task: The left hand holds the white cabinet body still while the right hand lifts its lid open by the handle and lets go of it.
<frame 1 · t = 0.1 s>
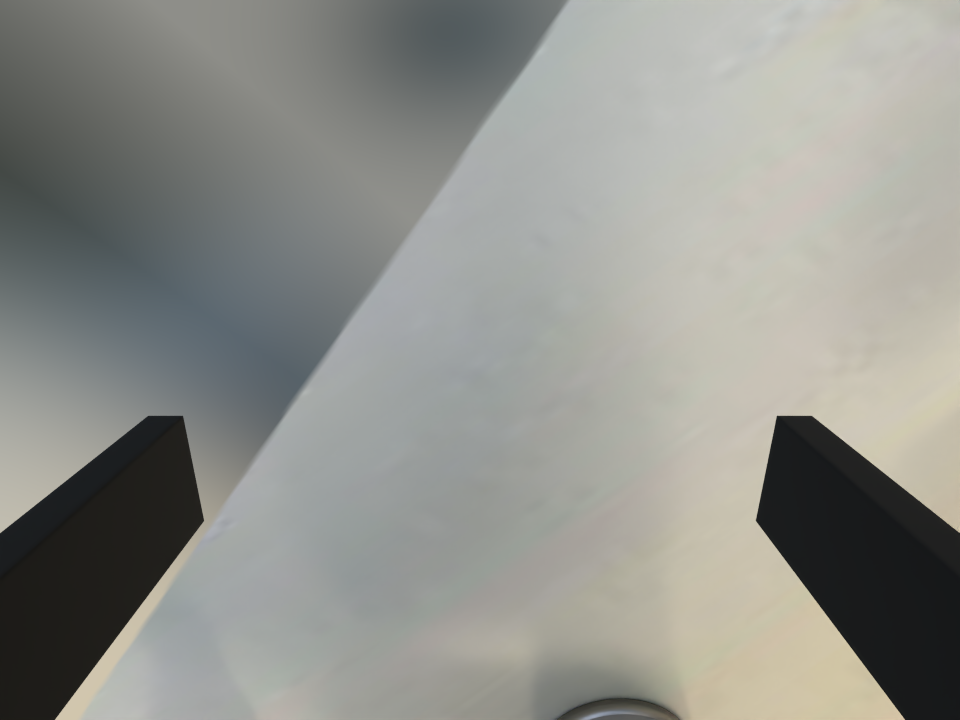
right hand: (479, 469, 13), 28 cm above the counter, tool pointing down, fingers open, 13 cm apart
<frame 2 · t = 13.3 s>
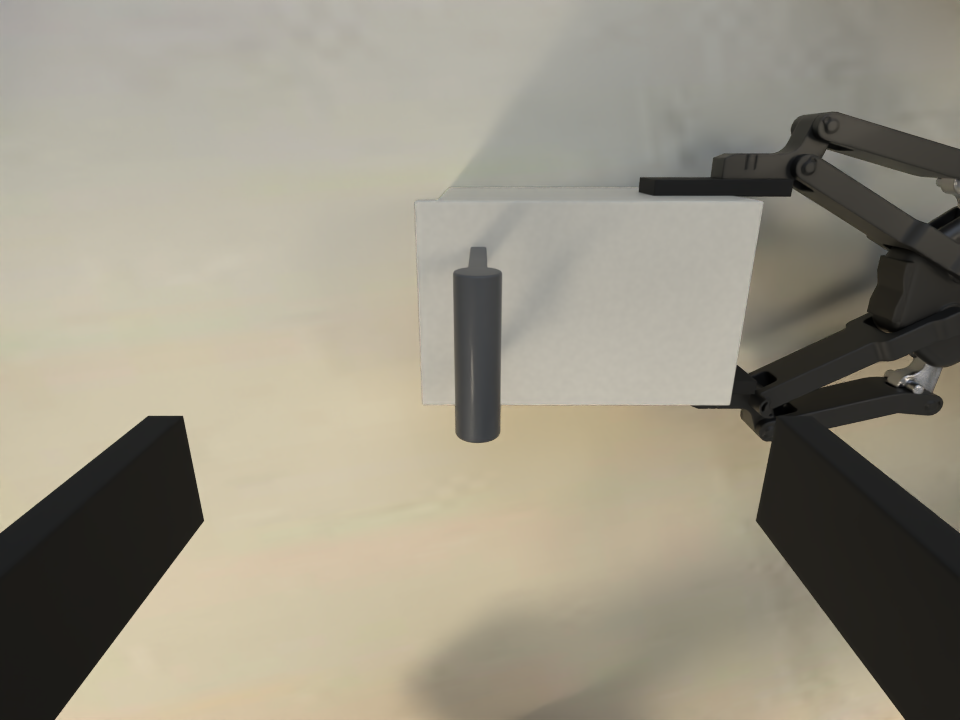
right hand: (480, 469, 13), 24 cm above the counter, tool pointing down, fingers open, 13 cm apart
left hand: (636, 288, 30), fingers closed on white cabinet body, 9 cm apart
lid: (595, 330, 23), point 14 cm above the counter, hinge at 0.0°
white cabinet body: (561, 266, 35), on the counter, touching left hand
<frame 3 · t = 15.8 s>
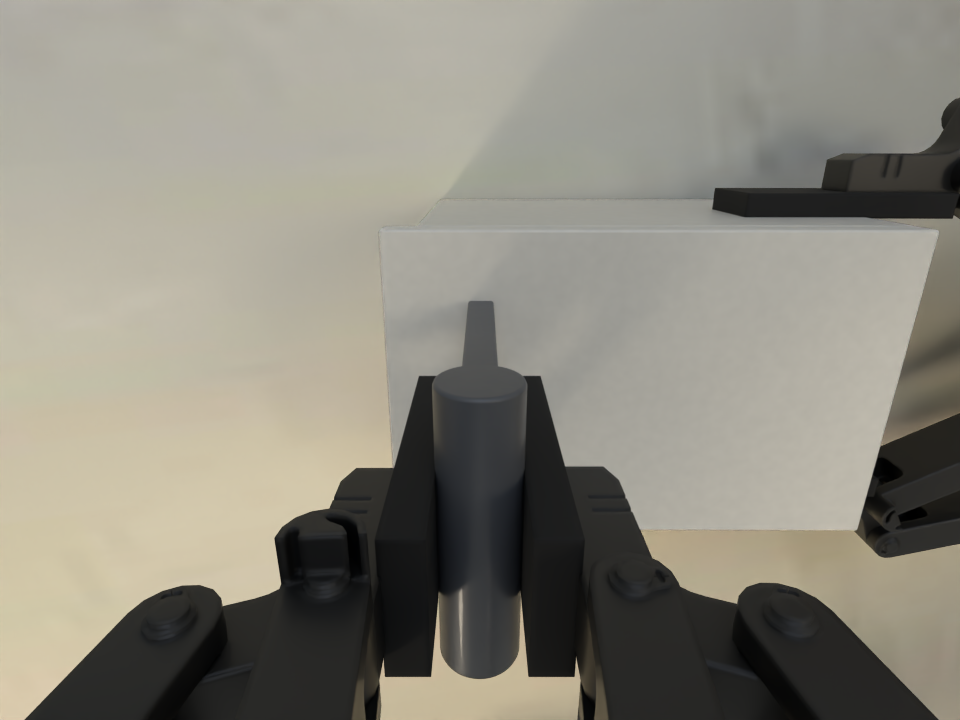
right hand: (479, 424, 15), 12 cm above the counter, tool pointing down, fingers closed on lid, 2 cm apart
lid: (674, 446, 14), point 14 cm above the counter, hinge at -0.1°, touching right hand
white cabinet body: (591, 304, 26), on the counter, touching left hand
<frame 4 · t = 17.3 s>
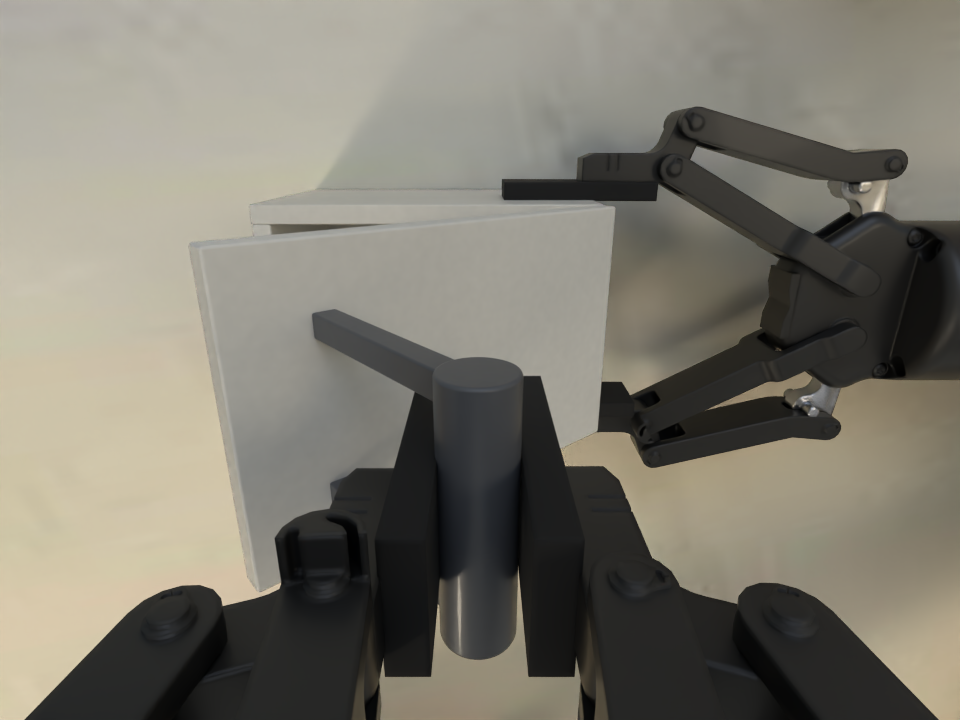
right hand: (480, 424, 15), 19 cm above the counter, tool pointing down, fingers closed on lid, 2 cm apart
left hand: (501, 301, 27), fingers closed on white cabinet body, 9 cm apart
lid: (532, 399, 16), point 17 cm above the counter, hinge at 40.4°, touching right hand
white cabinet body: (443, 275, 33), on the counter, touching left hand
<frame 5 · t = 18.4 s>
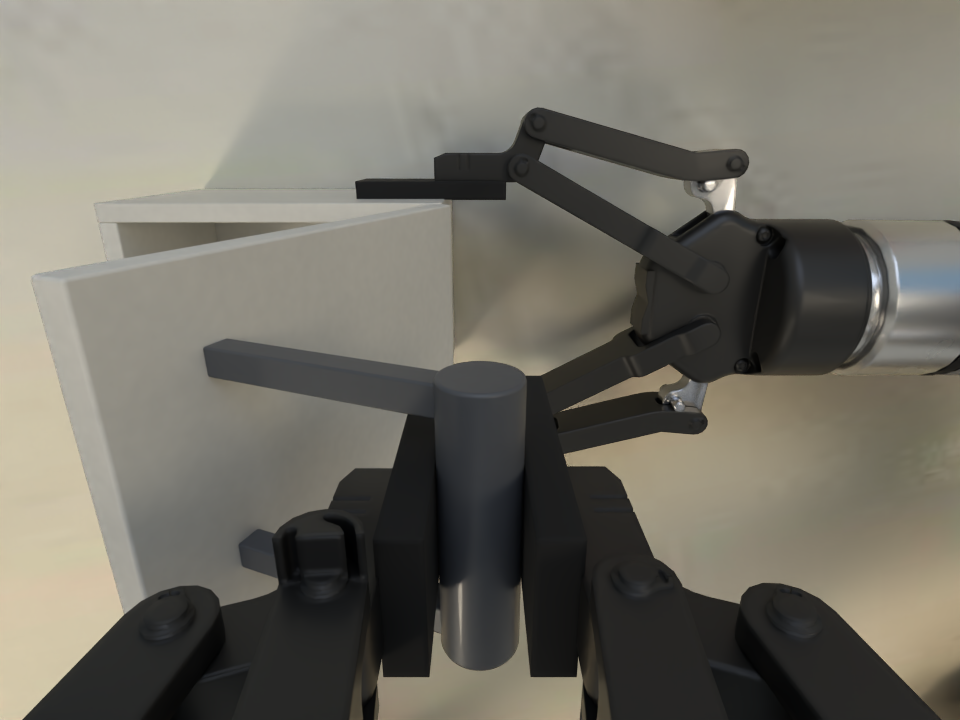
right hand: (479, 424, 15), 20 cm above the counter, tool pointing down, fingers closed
left hand: (369, 298, 27), fingers closed on white cabinet body, 9 cm apart
lid: (441, 401, 16), point 18 cm above the counter, hinge at 67.4°
white cabinet body: (334, 273, 33), on the counter, touching left hand
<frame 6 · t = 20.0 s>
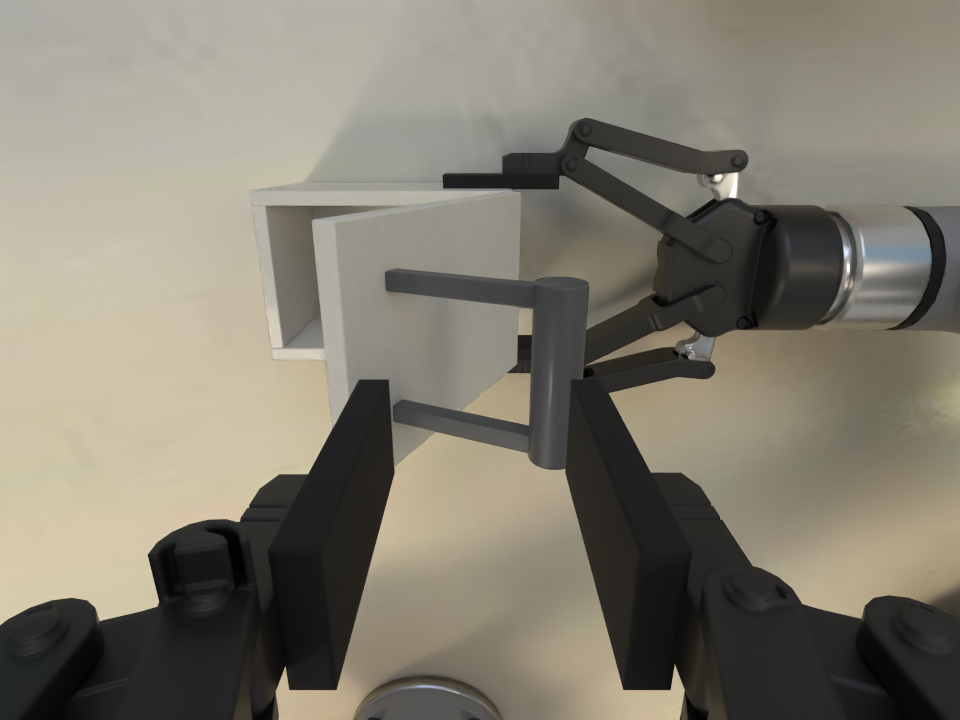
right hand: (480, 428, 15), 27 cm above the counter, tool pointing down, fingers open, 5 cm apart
left hand: (446, 268, 35), fingers closed on white cabinet body, 9 cm apart
lid: (520, 324, 23), point 18 cm above the counter, hinge at 64.3°
white cabinet body: (407, 251, 40), on the counter, touching left hand
when the left hand's fingers open (6 cm above the counter, at t = 22.3 s): white cabinet body stays where it is, on the counter.
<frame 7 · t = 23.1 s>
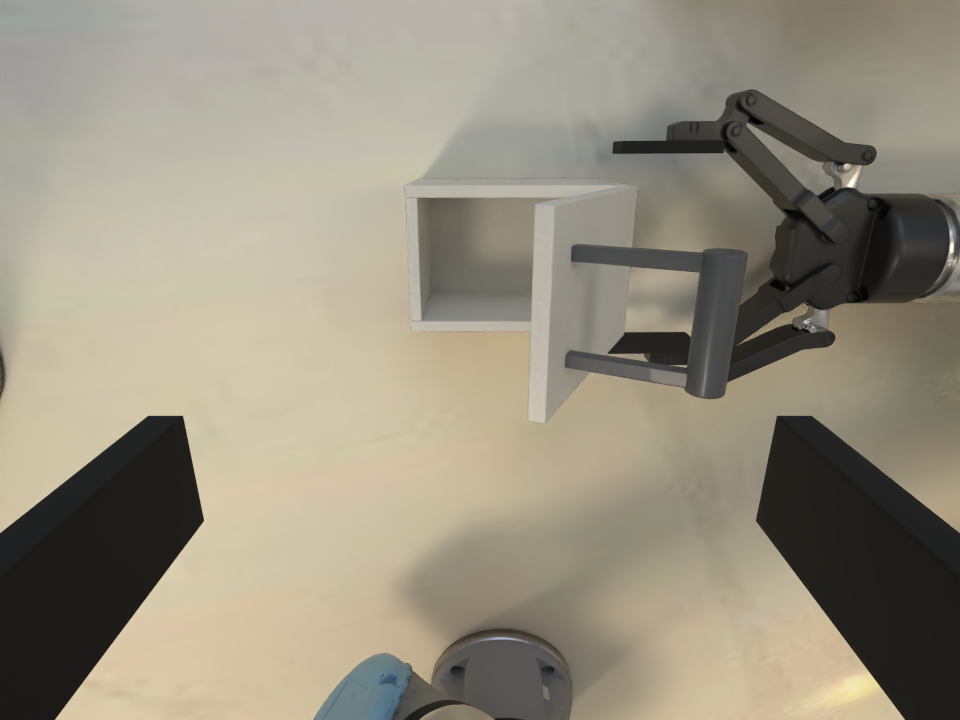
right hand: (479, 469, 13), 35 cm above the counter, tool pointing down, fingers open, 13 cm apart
left hand: (609, 251, 40), fingers open, 13 cm apart
lid: (658, 293, 28), point 18 cm above the counter, hinge at 63.2°
white cabinet body: (508, 240, 46), on the counter
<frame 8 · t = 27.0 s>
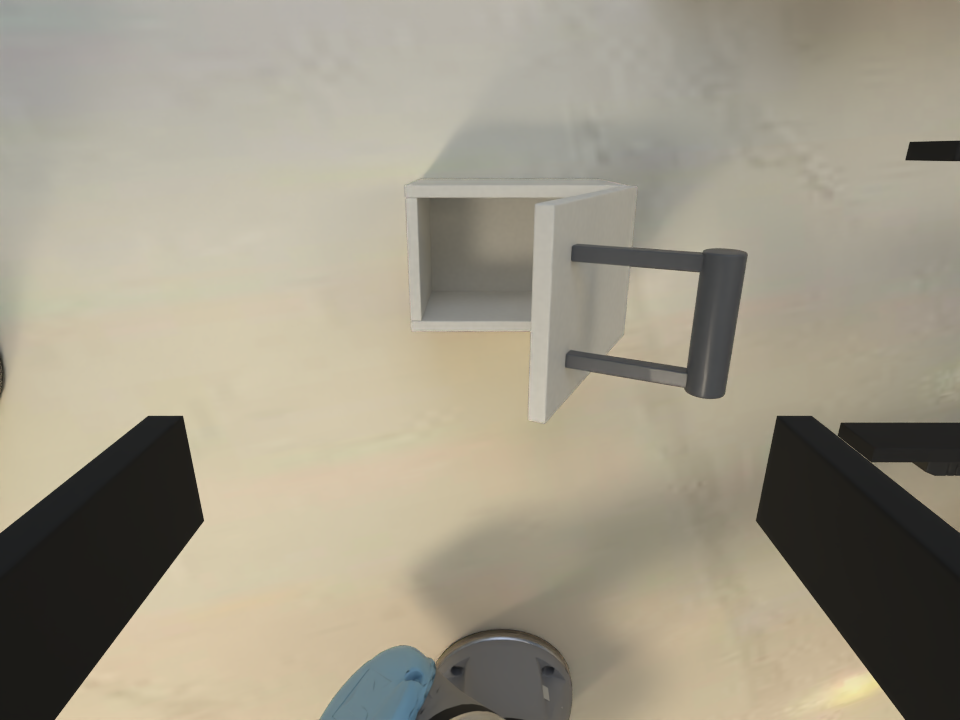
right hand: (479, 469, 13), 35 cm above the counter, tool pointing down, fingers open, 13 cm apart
lid: (658, 293, 28), point 18 cm above the counter, hinge at 63.2°
white cabinet body: (508, 240, 46), on the counter
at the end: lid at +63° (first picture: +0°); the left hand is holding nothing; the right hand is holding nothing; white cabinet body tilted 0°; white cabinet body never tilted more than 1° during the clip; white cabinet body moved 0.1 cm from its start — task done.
